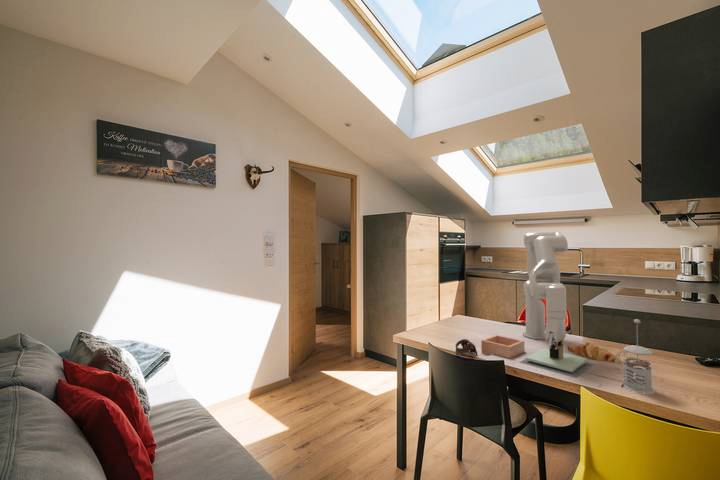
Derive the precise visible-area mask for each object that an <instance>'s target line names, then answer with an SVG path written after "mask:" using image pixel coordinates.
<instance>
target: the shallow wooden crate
mask: <svg viewBox="0 0 720 480" xmlns="http://www.w3.org/2000/svg"><path fill="white" fill-rule="evenodd" d="M524 352H525V340H522V339H517V338H512V337H509V336H503V335H499V334H495V335H492V336H490V337H487V338H484V339H481V354H485V355H489V356H492V355H497V356H501V357H504V358H507V359H512V358H514V357H516V356H518V355H520V354H522V353H524Z"/></svg>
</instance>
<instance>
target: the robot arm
mask: <svg viewBox="0 0 720 480" xmlns="http://www.w3.org/2000/svg"><path fill="white" fill-rule="evenodd" d="M523 245H524V247H525V250H526V253H527V256H526V260H527V262H526V264H527V265H526V273H527V276H528V280H526V281H525V282H524V283H523V291H524V299H525V331H523V333H522V336H523V337H525V338H528V339H531V340H532V339H533V340H545V341H547V344H548V345H549V346H550V347H549V350H550V357H551V358H555V359H558V358H559V355H558V349H557V348H558V346H563V347H564V340H565V338H566V334H567V333H566V331H567V330H566V320H567V289H566V286H565V285H564V284H563V283H561V268H560V267H561V266H560V264H559V262H558V261H557V257H556V253H557V254H558V253H559V254H563V253H566V252H567V251H568V247H569V245H568V241H567V238H566V236H564V235H563V234H562V233H561V232H559V231H534V232H526V233H525V234H524V236H523ZM542 300H545V303H544V302H543V301H542ZM545 305H546V306H545Z"/></svg>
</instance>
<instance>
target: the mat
mask: <svg viewBox="0 0 720 480" xmlns="http://www.w3.org/2000/svg"><path fill="white" fill-rule="evenodd" d="M518 363H520V364H523V365H527V366H531V367H535V368H538V369H542V370H546V371H550V372H553V373H556V374H560V375H565V376H568V377H570V378H571V377H573V378H575V379H576V378H579V377H580V376H581V375H582V374H584V373H585V372H586V371H588V370H589V369H591V368H592V367H593V366H594V365H596V364H595V363H593V362H589V361H587V362H586V363H584V364H583V365H581V366H580V367H579V368H577V369H576V370H575V371H573V372H569V371H565V370H562V369H558V368H554V367H551V366H547V365H543V364H539V363H536V362H532V361H528V360H526V358H524V359H523V360H521V361H519V362H518Z"/></svg>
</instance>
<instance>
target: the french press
mask: <svg viewBox="0 0 720 480" xmlns="http://www.w3.org/2000/svg"><path fill="white" fill-rule="evenodd" d="M633 323H635V324H636V345H633V344H632V345H626V346H625V347H623V350H621V351H618V352H617V354H616V362H615V363H616V365H617V367H618V368H619V369H620V370H621V371H623V383H622V384H621V385H620V387H621V388H623V389H624V388H625V389H624V390H626V389H627V390H626V391H629V390H630V391H629V392H632V391H634V392H633V393H635V392H638V393H637V394H640V393H645V394H644V395H653V394H652V393H654V392H656V390H655V389H654V388H653V387H652V383H653V382H652V381H653V380H652V367H651V366H650V365H651V363H650V362H649V361H648V360H644V359H640V358H639V356H650V355H652V354H653V352H652V351H651V350H649V349H648V348H646V347H645V346H640V345H639V344H638V343H639V339H638V338H639V337H638V332H639V331H638V330H639V328H638V327H639V326H638V324H641V320H640V319H637V318H636V319H633ZM622 353H623V355H624V356H626V355H628V353H630V354H634V355H636V358H633V357H627V358H624V361H625V362H624V363H623V365H622V363H620V360H621V359H620V360H619V364H618V363H617V357H620V356H621V354H622ZM619 365H620V366H619ZM654 390H655V391H654ZM654 394H655V393H654Z"/></svg>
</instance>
